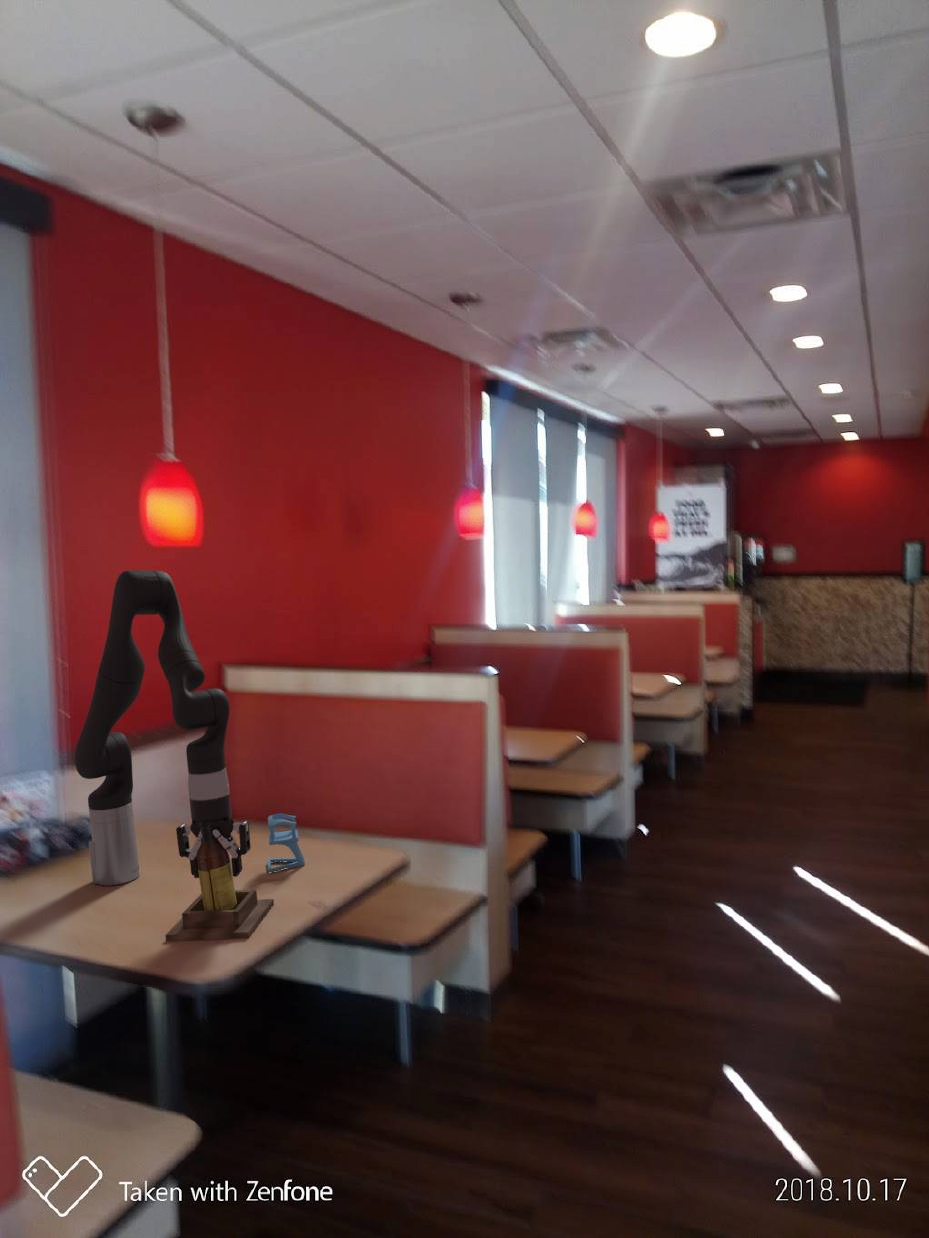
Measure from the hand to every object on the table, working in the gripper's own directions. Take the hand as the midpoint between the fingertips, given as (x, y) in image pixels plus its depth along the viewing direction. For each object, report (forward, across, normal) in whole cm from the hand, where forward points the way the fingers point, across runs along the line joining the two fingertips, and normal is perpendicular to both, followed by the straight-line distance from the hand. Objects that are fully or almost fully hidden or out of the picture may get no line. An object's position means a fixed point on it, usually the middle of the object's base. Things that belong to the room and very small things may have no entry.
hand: (217, 875), depth 182 cm
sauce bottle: (+8, 0, 0) cm, 8 cm away
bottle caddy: (+9, 0, 0) cm, 9 cm away
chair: (+10, +4, +31) cm, 33 cm away
